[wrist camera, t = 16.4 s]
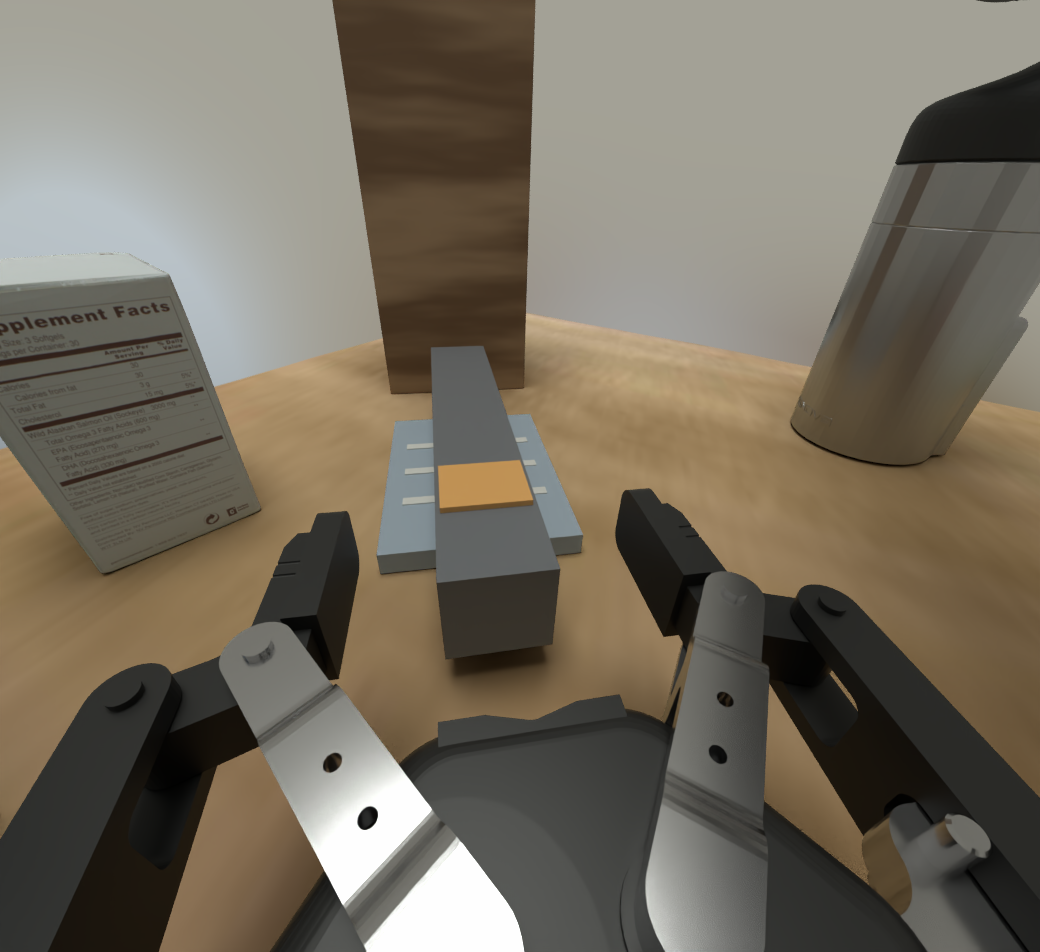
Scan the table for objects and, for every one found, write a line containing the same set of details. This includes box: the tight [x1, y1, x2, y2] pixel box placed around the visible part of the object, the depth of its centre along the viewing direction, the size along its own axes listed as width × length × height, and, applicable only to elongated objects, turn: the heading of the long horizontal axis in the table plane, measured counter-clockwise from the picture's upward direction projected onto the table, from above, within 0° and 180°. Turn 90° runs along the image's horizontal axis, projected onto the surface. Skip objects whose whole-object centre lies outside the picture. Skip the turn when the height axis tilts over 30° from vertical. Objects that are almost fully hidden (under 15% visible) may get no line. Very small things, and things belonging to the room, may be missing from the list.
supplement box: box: [0, 253, 261, 573], centre depth 21 cm, size 7×7×13 cm
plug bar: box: [431, 346, 560, 659], centre depth 25 cm, size 24×4×4 cm, turn 10°
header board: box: [377, 414, 583, 574], centre depth 27 cm, size 14×10×1 cm
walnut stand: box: [333, 0, 535, 394], centre depth 36 cm, size 12×12×32 cm
